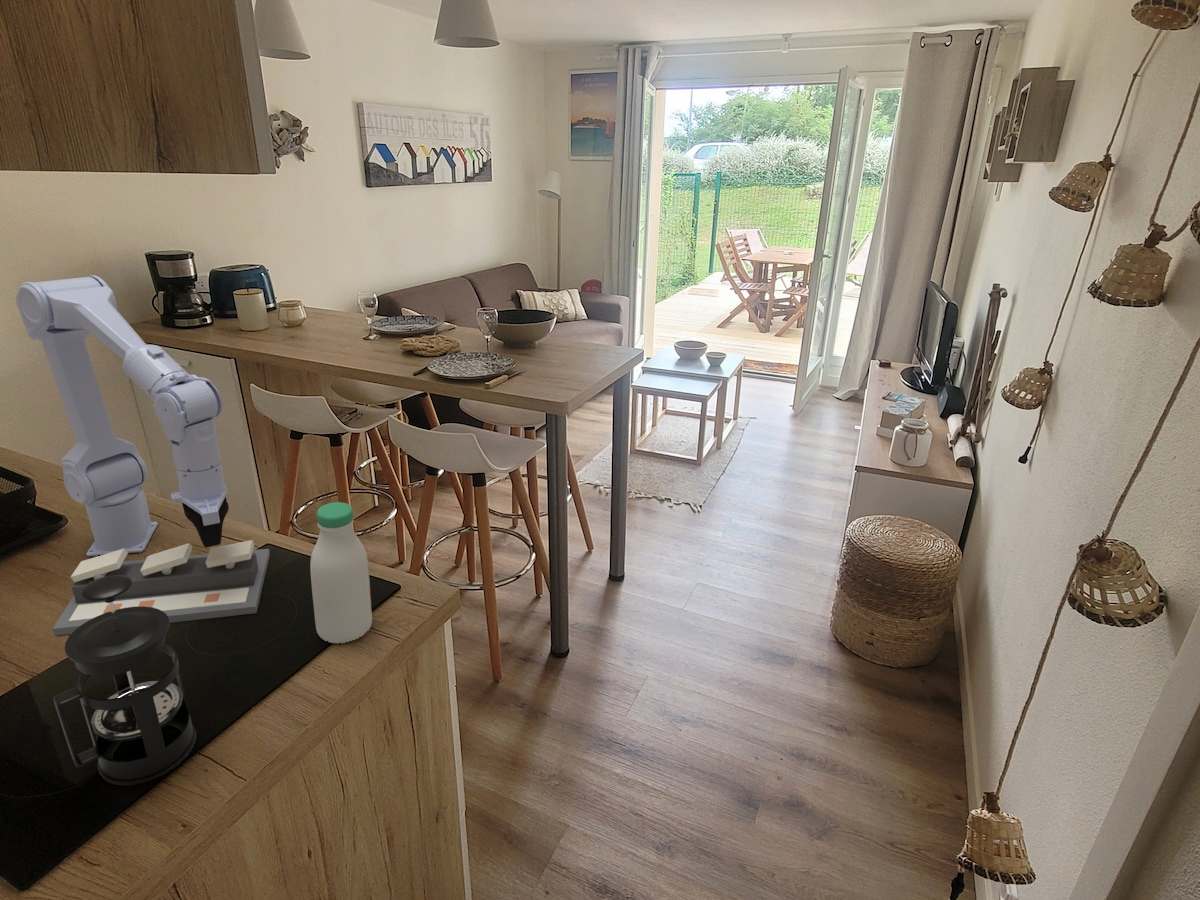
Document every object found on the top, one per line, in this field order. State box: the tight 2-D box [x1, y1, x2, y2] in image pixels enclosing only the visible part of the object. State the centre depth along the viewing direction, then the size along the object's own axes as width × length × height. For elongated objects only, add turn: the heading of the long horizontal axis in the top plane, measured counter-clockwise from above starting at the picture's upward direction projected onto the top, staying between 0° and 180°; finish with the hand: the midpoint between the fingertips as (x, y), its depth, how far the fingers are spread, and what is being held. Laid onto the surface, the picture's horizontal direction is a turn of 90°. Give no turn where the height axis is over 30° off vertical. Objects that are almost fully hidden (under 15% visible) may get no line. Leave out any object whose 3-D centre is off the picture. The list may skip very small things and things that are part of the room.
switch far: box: [205, 539, 255, 569], centre depth 102 cm, size 4×6×2 cm, turn 108°
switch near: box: [70, 548, 129, 583], centre depth 97 cm, size 4×6×2 cm, turn 108°
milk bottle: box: [309, 501, 373, 644], centre depth 93 cm, size 8×8×20 cm
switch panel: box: [52, 548, 271, 637], centre depth 101 cm, size 16×25×4 cm, turn 108°
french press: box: [53, 575, 197, 787], centre depth 71 cm, size 12×9×23 cm
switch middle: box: [140, 542, 193, 576], centre depth 100 cm, size 4×6×2 cm, turn 108°
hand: (212, 543), depth 101 cm, fingers closed
